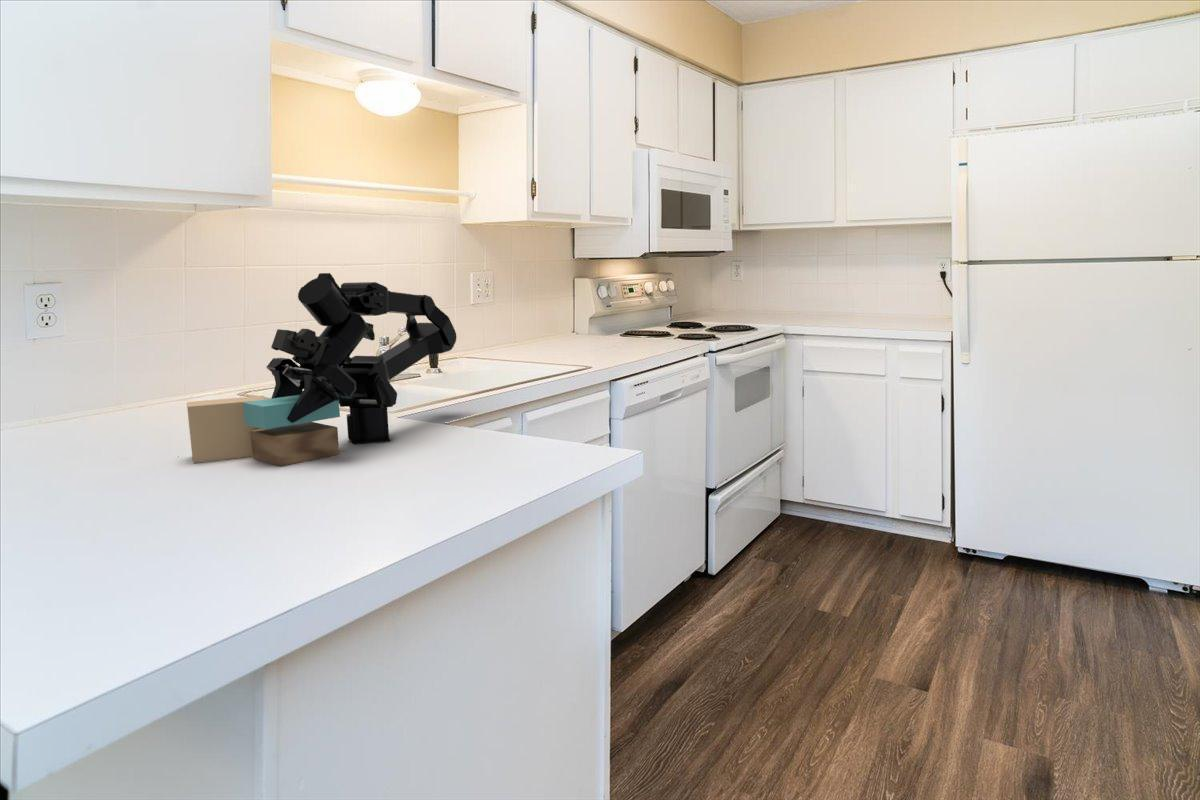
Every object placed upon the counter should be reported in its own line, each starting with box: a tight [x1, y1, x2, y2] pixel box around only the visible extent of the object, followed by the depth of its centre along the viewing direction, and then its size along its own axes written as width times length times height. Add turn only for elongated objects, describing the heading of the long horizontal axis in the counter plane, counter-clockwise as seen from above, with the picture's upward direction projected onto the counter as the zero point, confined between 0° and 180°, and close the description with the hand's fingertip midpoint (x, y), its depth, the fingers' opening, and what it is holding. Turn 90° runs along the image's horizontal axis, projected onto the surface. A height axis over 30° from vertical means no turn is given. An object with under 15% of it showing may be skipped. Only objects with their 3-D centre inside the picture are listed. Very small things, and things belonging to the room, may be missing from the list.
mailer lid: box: [243, 395, 341, 429], centre depth 126 cm, size 13×7×4 cm, turn 139°
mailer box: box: [186, 395, 267, 464], centre depth 128 cm, size 11×5×9 cm, turn 119°
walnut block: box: [250, 421, 340, 467], centre depth 127 cm, size 10×9×4 cm
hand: (278, 418), depth 124 cm, fingers closed on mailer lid, 6 cm apart
